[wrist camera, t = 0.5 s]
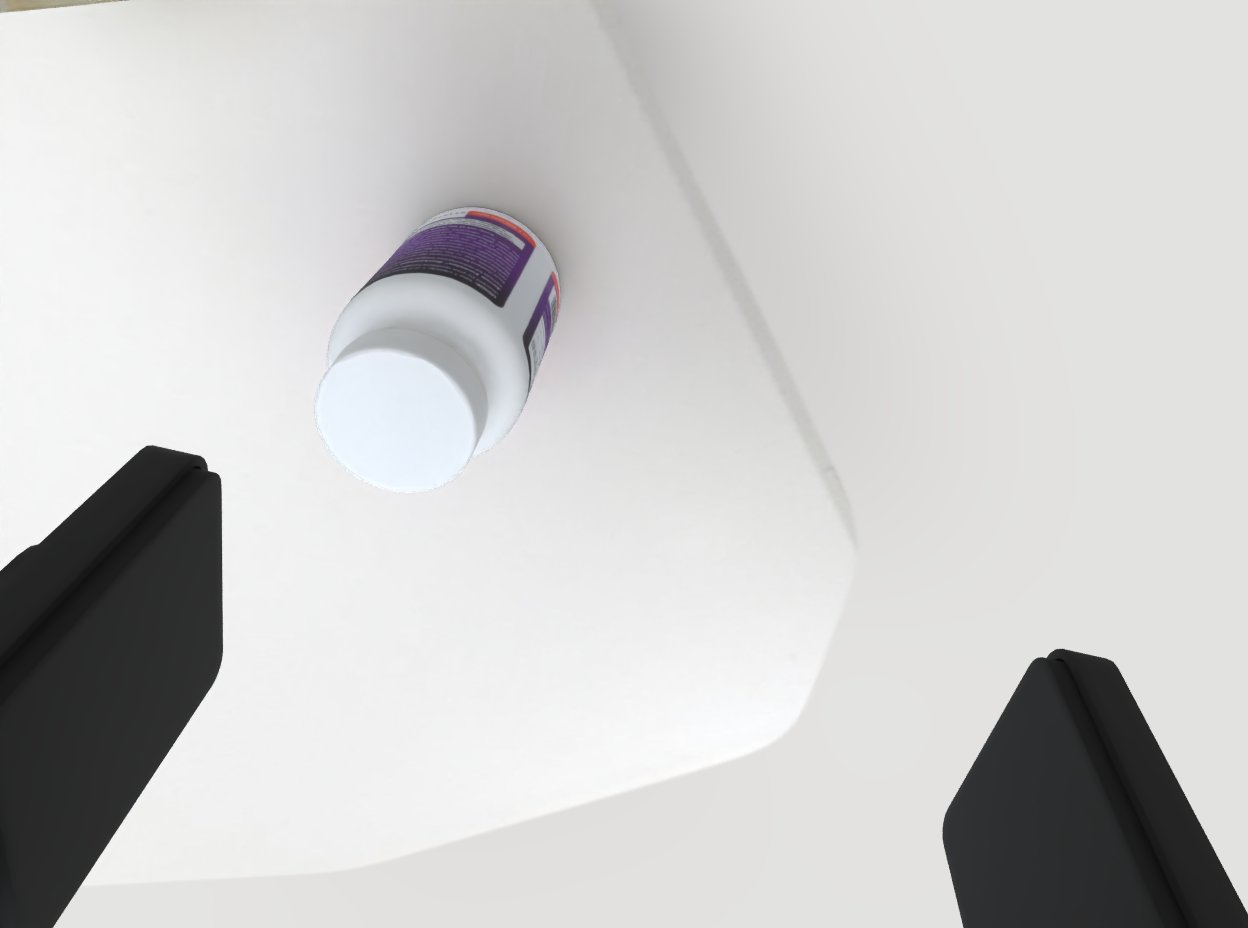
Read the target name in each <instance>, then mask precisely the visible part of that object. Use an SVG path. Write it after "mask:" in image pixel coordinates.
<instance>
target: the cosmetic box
mask: <svg viewBox="0 0 1248 928" xmlns="http://www.w3.org/2000/svg"><path fill="white" fill-rule="evenodd" d="M116 1H127V0H0V13H2V12H14V11H27V10H36V9H45V8H56V7H66V6H77V5H87V4H96V3H106V2H116Z"/></svg>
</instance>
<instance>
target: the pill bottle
mask: <svg viewBox="0 0 1248 928" xmlns="http://www.w3.org/2000/svg"><path fill="white" fill-rule="evenodd" d="M560 300H561V292H560V282H559V277H558V273H557V270H556V267H555V264H554V262H553V260H552V258H551V256H550V254H549V252H548V251H547V249H546V247H545V246H544V244H543V243H542V242H541V241H540V240H539V239H538V237H537V236H536V235H535V234H534V233H533V232H531V231H530V230H529V229H528V228H527V227H526V226H524V225H523V224H522V223H520V222H519V221H517V220H515V219H513V218H512V217H510V216H508V215H505V214H503V213H500V212H498V211H494V210H490V209H485V208H477V207H464V208H457V209H452V210H448V211H446V212H443V213H440V214H438V215H436V216H434V217H432V218H430V219H429V220H427V221H426V222H424V223H423V224H422V225H421V226H419V227H418V228H417V229H416V230H415V231H414V232H413V233H412V234H411V235H410V236H409V237H408V238H407V239H406V240H405V242H404V243H403V244H402V245H401V246H400V247H399V249H398V250H397V251H396V252H395V253H394V254H393V255H392V256H391V258H390V259H389V260H388V261H387V262H386V263H385V264H384V265H383V266H382V267H381V268H380V270H379V271H378V272H377V273H376V274H375V275H374V276H373V277H372V278H371V279H370V280H369V281H368V282H367V283H366V284H365V286H364V287H363V288H362V289H361V290H360V291H359V292H358V293H357V294H356V295H355V296H354V297H353V298H352V299H351V301H350V302H349V304H348V305H347V306H346V307H345V308H344V310H343V311H342V313H341V314H340V316H339V318H338V319H337V321H336V323H335V325H334V328H333V330H332V333H331V336H330V340H329V345H328V353H327V367H328V370H327V372H326V373H325V375H324V376H323V378H322V380H321V381H320V384H319V387H318V389H317V393H316V397H315V420H316V424H317V428H318V430H319V433H320V436H321V438H322V440H323V442H324V443H325V445H326V447H327V449H328V451H329V452H330V453H331V454H332V456H333V457H334V458H335V459H336V460H337V461H338V462H339V464H340V465H341V466H342V467H343V468H345V469H346V470H347V471H348V472H350V473H351V474H353V475H354V476H356V477H357V478H359V479H360V480H362V481H364V482H366V483H368V484H370V485H373V486H375V487H378V488H381V489H384V490H389V491H394V492H400V493H416V492H423V491H428V490H432V489H435V488H438V487H440V486H442V485H444V484H446V483H447V482H449V481H451V480H452V479H454V478H455V477H456V476H457V475H458V474H459V473H460V472H461V471H462V470H463V469H464V468H465V466H466V465H467V464H468V462H469V460H470V458H473V457H476V456H478V455H480V454H482V453H484V452H485V451H487V450H489V449H490V448H492V447H493V446H495V445H496V444H497V443H498V442H499V441H500V440H502V439H503V438H504V437H505V436H506V435H507V433H508V432H509V431H510V430H511V429H512V427H513V425H514V424H515V422H516V421H517V419H518V417H519V415H520V413H521V412H522V410H523V407H524V405H525V403H526V400H527V398H528V395H529V392H530V389H531V387H532V384H533V381H534V379H535V376H536V373H537V371H538V368H539V365H540V363H541V361H542V358H543V355H544V353H545V350H546V348H547V345H548V342H549V339H550V337H551V334H552V331H553V329H554V326H555V323H556V320H557V316H558V312H559V307H560Z"/></svg>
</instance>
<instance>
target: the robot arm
mask: <svg viewBox="0 0 1248 928" xmlns="http://www.w3.org/2000/svg"><path fill="white" fill-rule="evenodd" d="M222 655H223V610H222V492H221V479H220V477H219V475H218V474H217V473H214V472H209V471H208V468H207V464H206V461H205V459H204V458H202V457H201V456H198V455H193V454H189V453H184V452H180V451H175V450H171V449H166V448H162V447H157V446H153V445H152V446H146V447H145V448H143V449H142V450H140V451H139V452H138V453H137V454H136V455H135V456H134V457H133V458H132V459H130V460H129V461H128V462H127V463H126V464H125V465H124V466H123V467H122V468H121V469H120V470H119V471H117V472H116V473H115V474H114V475H113V476H112V477H111V478H110V479H109V480H108V481H107V482H106V483H105V484H103V485H102V486H101V487H100V488H99V489H98V490H97V491H96V492H95V493H94V494H93V495H92V496H90V497H89V498H88V499H87V500H86V501H85V502H84V503H83V504H82V505H81V506H80V507H79V508H78V509H76V510H75V511H74V512H73V513H72V514H71V515H70V516H69V517H68V518H67V519H66V520H65V521H63V522H62V523H61V524H60V525H59V526H58V527H57V528H56V529H55V530H54V531H53V532H52V533H50V534H49V535H48V536H47V537H46V538H45V539H44V540H43V541H42V542H41V543H40V544H38V545H34V546H30V547H29V548H27V549H26V550H25V551H23V552H22V553H20V554H19V555H18V556H16V557H15V558H14V559H13V560H12V561H11V562H10V563H9V564H8V565H7V566H5V567H4V568H3V569H2V570H1V571H0V928H53V927H54V925H55V923H56V922H57V920H58V919H59V917H60V916H61V914H62V913H63V911H64V909H65V908H66V907H67V905H68V904H69V902H70V901H71V899H72V898H73V896H74V895H75V893H76V892H77V890H78V888H79V887H80V886H81V884H82V882H83V881H84V879H85V878H86V876H87V875H88V873H89V872H90V870H91V869H92V867H93V866H94V864H95V863H96V861H97V860H98V858H99V857H100V855H101V854H102V852H103V851H104V849H105V848H106V846H107V845H108V843H109V841H110V840H111V838H112V837H113V835H114V834H115V832H116V831H117V829H118V828H119V826H120V825H121V823H122V822H123V820H124V819H125V817H126V816H127V814H128V813H129V811H130V810H131V808H132V807H133V805H134V803H135V802H136V800H137V799H138V797H139V796H140V794H141V793H142V791H143V790H144V788H145V787H146V785H147V784H148V782H149V781H150V779H151V778H152V776H153V775H154V773H155V772H156V770H157V769H158V767H159V766H160V764H161V762H162V761H163V759H164V758H165V756H166V755H167V753H168V752H169V750H170V749H171V747H172V746H173V744H174V743H175V741H176V740H177V738H178V737H179V735H180V734H181V732H182V731H183V729H184V728H185V726H186V725H187V723H188V721H189V720H190V718H191V717H192V715H193V714H194V712H195V711H196V709H197V708H198V706H199V705H200V703H201V702H202V700H203V699H204V697H205V696H206V694H207V693H208V691H209V690H210V688H211V687H212V685H213V683H214V681H215V679H216V677H217V675H218V672H219V669H220V666H221V661H222ZM943 843H944V848H945V852H946V856H947V861H948V865H949V869H950V873H951V877H952V881H953V886H954V890H955V893H956V898H957V902H958V906H959V910H960V915H961V919H962V923H963V927H964V928H1248V914H1247V912H1246V910H1245V908H1244V906H1243V904H1242V902H1241V900H1240V898H1239V896H1238V895H1237V893H1236V891H1235V889H1234V887H1233V885H1232V883H1231V882H1230V879H1229V878H1228V876H1227V874H1226V872H1225V870H1224V868H1223V866H1222V864H1221V862H1220V860H1219V859H1218V857H1217V855H1216V853H1215V851H1214V849H1213V847H1212V845H1211V843H1210V842H1209V840H1208V838H1207V836H1206V834H1205V832H1204V830H1203V828H1202V827H1201V824H1200V823H1199V821H1198V819H1197V817H1196V815H1195V813H1194V811H1193V810H1192V808H1191V805H1190V804H1189V802H1188V800H1187V798H1186V796H1185V794H1184V792H1183V790H1182V789H1181V787H1180V785H1179V783H1178V781H1177V779H1176V778H1175V775H1174V773H1173V772H1172V770H1171V768H1170V766H1169V764H1168V762H1167V760H1166V758H1165V756H1164V754H1163V753H1162V750H1161V749H1160V747H1159V745H1158V743H1157V741H1156V739H1155V737H1154V735H1153V733H1152V732H1151V730H1150V728H1149V726H1148V724H1147V722H1146V720H1145V718H1144V716H1143V714H1142V713H1141V711H1140V709H1139V707H1138V705H1137V703H1136V701H1135V699H1134V697H1133V696H1132V694H1131V692H1130V690H1129V688H1128V686H1127V684H1126V682H1125V680H1124V678H1123V677H1122V675H1121V673H1120V671H1119V669H1118V668H1117V666H1116V665H1115V664H1114V662H1112V661H1110V660H1108V659H1106V658H1101V657H1097V656H1092V655H1088V654H1083V653H1079V652H1074V651H1070V650H1065V649H1056V650H1054V651H1053V652H1051V653H1050V654H1049V655H1048V657H1047V658H1043V657H1042V658H1036V659H1035V660H1034V661H1033V662H1032V663H1031V664H1030V666H1029V667H1028V669H1027V671H1026V673H1025V675H1024V676H1023V678H1022V680H1021V681H1020V683H1019V685H1018V687H1017V688H1016V690H1015V692H1014V694H1013V695H1012V697H1011V699H1010V701H1009V703H1008V704H1007V706H1006V708H1005V710H1004V712H1003V713H1002V715H1001V717H1000V719H999V720H998V722H997V724H996V725H995V727H994V729H993V731H992V732H991V734H990V736H989V738H988V739H987V741H986V743H985V745H984V746H983V748H982V750H981V752H980V753H979V755H978V757H977V759H976V761H975V762H974V764H973V766H972V767H971V769H970V771H969V773H968V774H967V776H966V778H965V780H964V781H963V783H962V785H961V787H960V788H959V790H958V792H957V794H956V795H955V797H954V799H953V801H952V802H951V804H950V806H949V808H948V810H947V812H946V814H945V818H944V823H943Z"/></svg>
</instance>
